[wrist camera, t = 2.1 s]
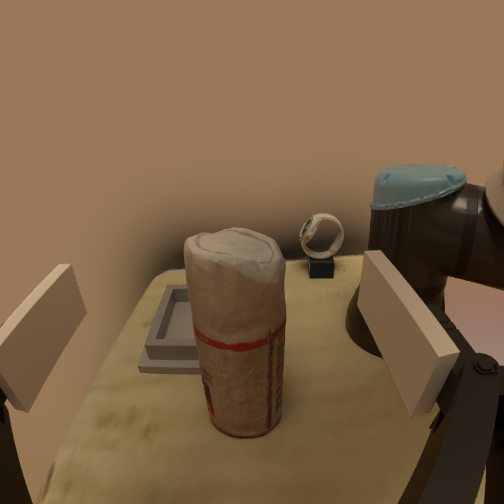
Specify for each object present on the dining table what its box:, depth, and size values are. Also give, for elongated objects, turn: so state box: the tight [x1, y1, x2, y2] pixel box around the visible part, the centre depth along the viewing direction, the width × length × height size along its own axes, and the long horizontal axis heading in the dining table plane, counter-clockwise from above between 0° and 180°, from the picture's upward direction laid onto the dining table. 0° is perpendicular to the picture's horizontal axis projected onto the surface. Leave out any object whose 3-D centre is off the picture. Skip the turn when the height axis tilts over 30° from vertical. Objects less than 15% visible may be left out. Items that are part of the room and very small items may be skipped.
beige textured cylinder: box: [184, 227, 286, 437], centre depth 27 cm, size 8×8×20 cm
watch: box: [299, 213, 344, 278], centre depth 56 cm, size 6×8×11 cm
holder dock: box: [138, 285, 201, 374], centre depth 43 cm, size 17×17×4 cm
